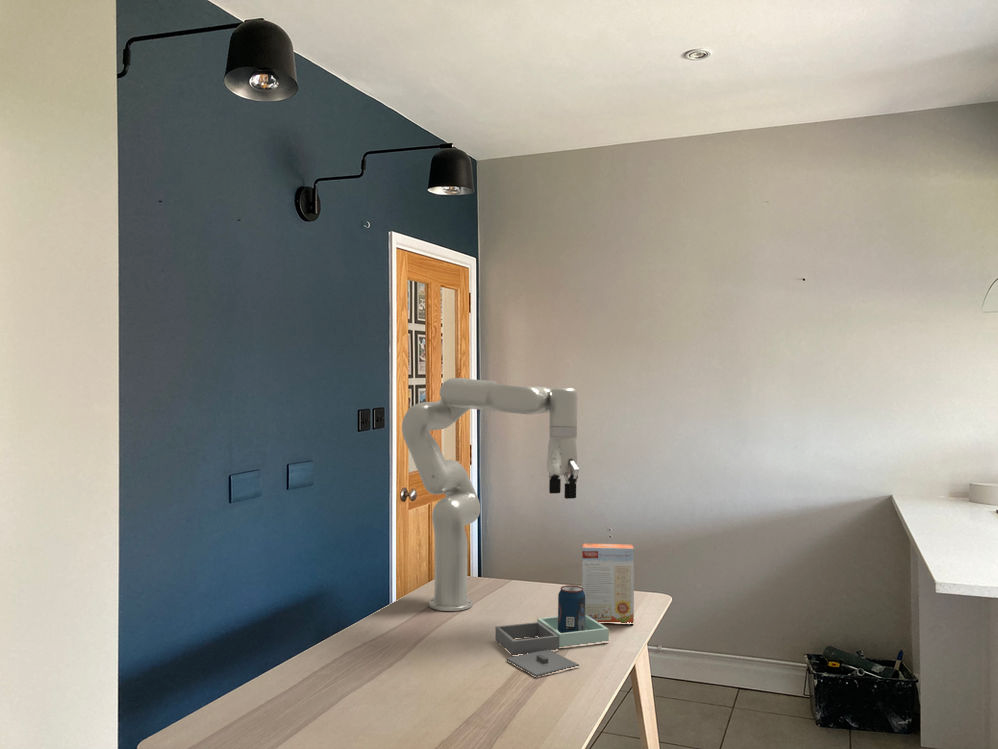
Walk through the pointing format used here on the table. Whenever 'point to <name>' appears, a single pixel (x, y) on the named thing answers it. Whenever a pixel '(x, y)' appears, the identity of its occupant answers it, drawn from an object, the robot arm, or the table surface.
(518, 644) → the bin
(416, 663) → the table surface
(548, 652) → the lid
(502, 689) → the table surface
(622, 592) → the cracker box
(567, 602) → the soda can
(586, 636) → the bin
